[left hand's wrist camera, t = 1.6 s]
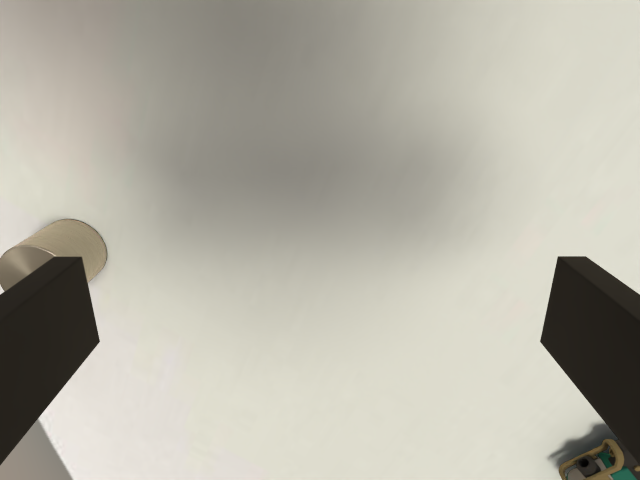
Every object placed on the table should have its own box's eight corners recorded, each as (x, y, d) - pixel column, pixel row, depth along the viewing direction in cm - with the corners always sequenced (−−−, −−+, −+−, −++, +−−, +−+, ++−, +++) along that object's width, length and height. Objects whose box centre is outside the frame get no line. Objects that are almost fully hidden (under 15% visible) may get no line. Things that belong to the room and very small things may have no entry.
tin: (70, 287, 29) (31, 322, 25) (28, 236, 28) (-20, 265, 24) (120, 261, 29) (88, 293, 25) (79, 207, 27) (38, 232, 23)
